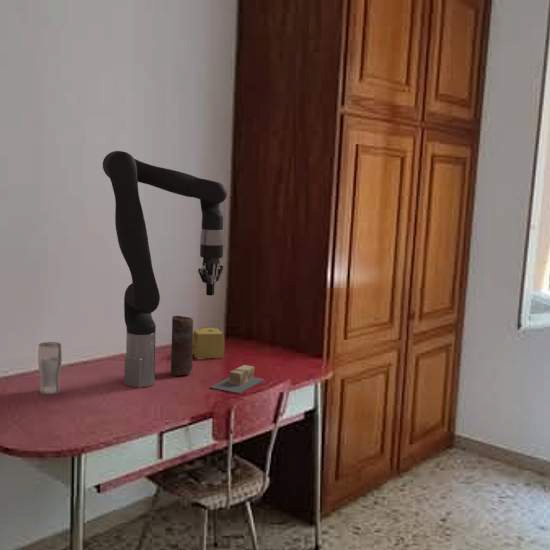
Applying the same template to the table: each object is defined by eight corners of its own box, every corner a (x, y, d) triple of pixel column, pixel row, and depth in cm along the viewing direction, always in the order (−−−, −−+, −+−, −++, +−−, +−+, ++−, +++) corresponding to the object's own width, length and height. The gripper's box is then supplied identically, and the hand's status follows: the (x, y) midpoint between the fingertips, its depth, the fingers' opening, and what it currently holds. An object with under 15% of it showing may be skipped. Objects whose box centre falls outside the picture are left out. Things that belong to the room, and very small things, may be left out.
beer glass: (62, 388, 225) (63, 341, 223) (60, 394, 219) (60, 347, 216) (39, 388, 224) (39, 341, 222) (36, 395, 217) (36, 347, 215)
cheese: (190, 353, 276) (191, 327, 274) (218, 352, 279) (218, 327, 277) (196, 360, 266) (196, 333, 264) (224, 359, 269) (225, 333, 268)
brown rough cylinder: (175, 369, 251) (176, 314, 248) (195, 371, 250) (196, 315, 247) (167, 375, 244) (168, 318, 241) (188, 377, 242) (189, 320, 240)
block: (240, 373, 234) (254, 366, 244) (229, 371, 236) (244, 364, 245) (240, 385, 235) (254, 377, 244) (229, 383, 237) (243, 376, 246)
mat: (239, 393, 227) (239, 392, 227) (209, 388, 232) (209, 387, 232) (264, 380, 243) (264, 379, 243) (235, 375, 248) (235, 374, 248)
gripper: (211, 245, 227) (209, 299, 230) (231, 242, 239) (229, 293, 242) (191, 243, 230) (189, 296, 233) (212, 240, 242) (210, 291, 245)
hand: (210, 295), depth 237 cm, fingers closed
